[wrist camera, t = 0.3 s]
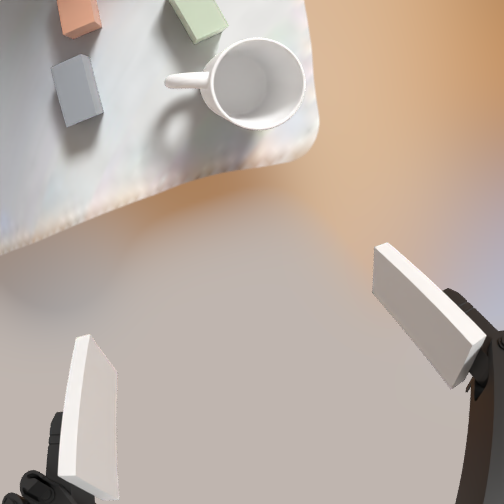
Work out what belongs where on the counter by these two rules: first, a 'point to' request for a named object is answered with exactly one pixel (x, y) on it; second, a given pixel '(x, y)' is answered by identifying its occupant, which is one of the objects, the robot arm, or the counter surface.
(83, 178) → the counter surface
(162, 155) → the counter surface
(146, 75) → the counter surface
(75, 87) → the slate brick
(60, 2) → the terracotta brick
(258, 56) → the mug
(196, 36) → the sage brick
